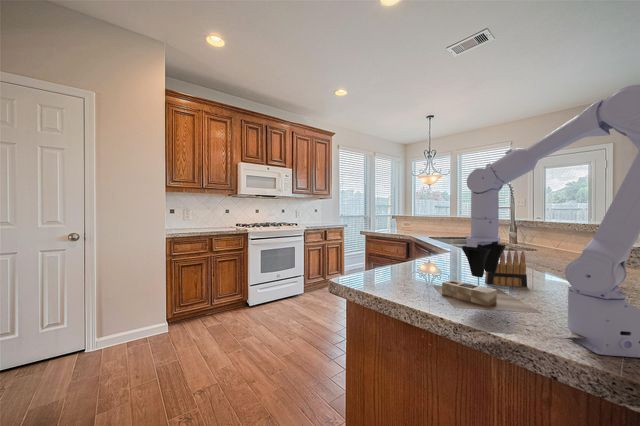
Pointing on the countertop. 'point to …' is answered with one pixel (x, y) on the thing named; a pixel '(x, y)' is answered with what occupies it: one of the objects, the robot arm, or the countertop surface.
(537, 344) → the countertop surface
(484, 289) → the beige rectangular block
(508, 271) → the ammunition clip
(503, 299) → the post board
